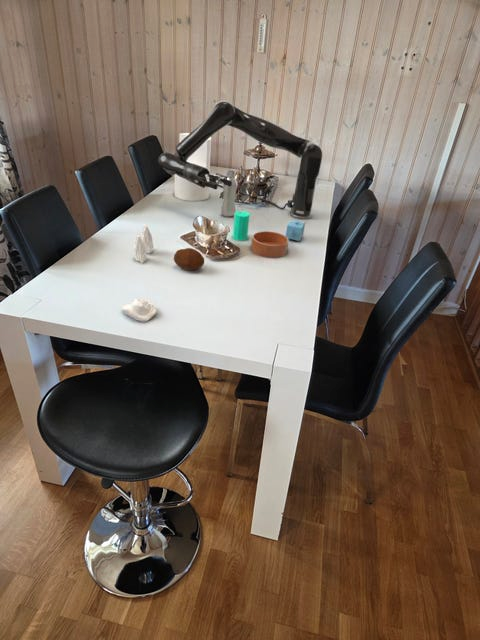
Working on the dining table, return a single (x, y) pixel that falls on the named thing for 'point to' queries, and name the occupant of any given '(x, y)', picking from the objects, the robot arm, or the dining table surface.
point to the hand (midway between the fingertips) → (224, 185)
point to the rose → (140, 310)
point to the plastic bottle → (229, 195)
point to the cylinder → (190, 189)
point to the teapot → (295, 230)
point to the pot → (269, 244)
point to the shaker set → (143, 245)
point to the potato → (189, 259)
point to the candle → (241, 225)
